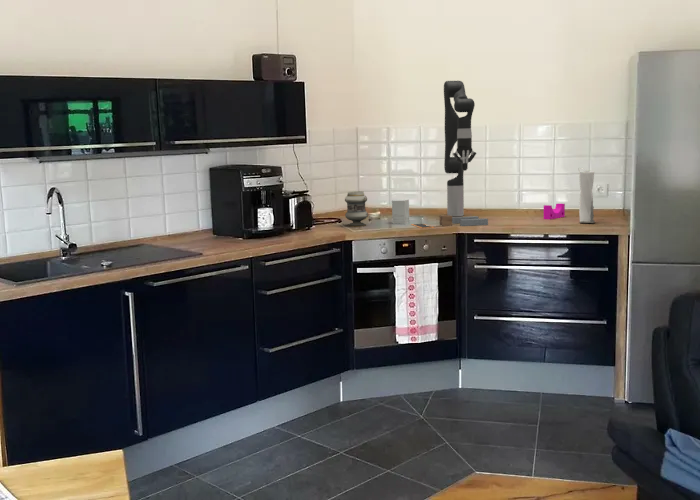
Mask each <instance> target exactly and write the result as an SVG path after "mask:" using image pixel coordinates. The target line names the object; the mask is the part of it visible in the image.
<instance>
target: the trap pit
mask: <svg viewBox="0 0 700 500" xmlns="http://www.w3.org/2000/svg"><path fill="white" fill-rule="evenodd" d="M426 225H427V224H426V223H413V224H412V223H411V224H410V226H414V227H416V226H417V228H419V229H432V228H436V227H435V226H432V225H429V226H426ZM431 226H432V227H431Z"/></svg>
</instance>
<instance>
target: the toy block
mask: <svg viewBox="0 0 700 500" xmlns="http://www.w3.org/2000/svg"><path fill="white" fill-rule="evenodd" d="M565 207H566V204H565V203H555V207H554V208H553V206H552V205H550V204H548V205H547V204H546V205H545V204H544V205H543V220H550V221H551V220H555V219H561V217H562V218H565V217H566V215H565V214H566V213H565V209H566V208H565Z"/></svg>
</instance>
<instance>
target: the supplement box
mask: <svg viewBox="0 0 700 500" xmlns="http://www.w3.org/2000/svg"><path fill="white" fill-rule="evenodd" d="M391 218H392V220H391V221H392V224H393V225H406V224H409V223H410V199H405V198H404V199H393V200H391Z"/></svg>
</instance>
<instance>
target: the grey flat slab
mask: <svg viewBox="0 0 700 500" xmlns="http://www.w3.org/2000/svg"><path fill="white" fill-rule="evenodd" d="M453 224H454V225H455V224H459V226H461V227H468V226H469V227H472V226H488V225H489V218H479V216H476V215H475V216H474V215H473V216H452V225H453Z"/></svg>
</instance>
